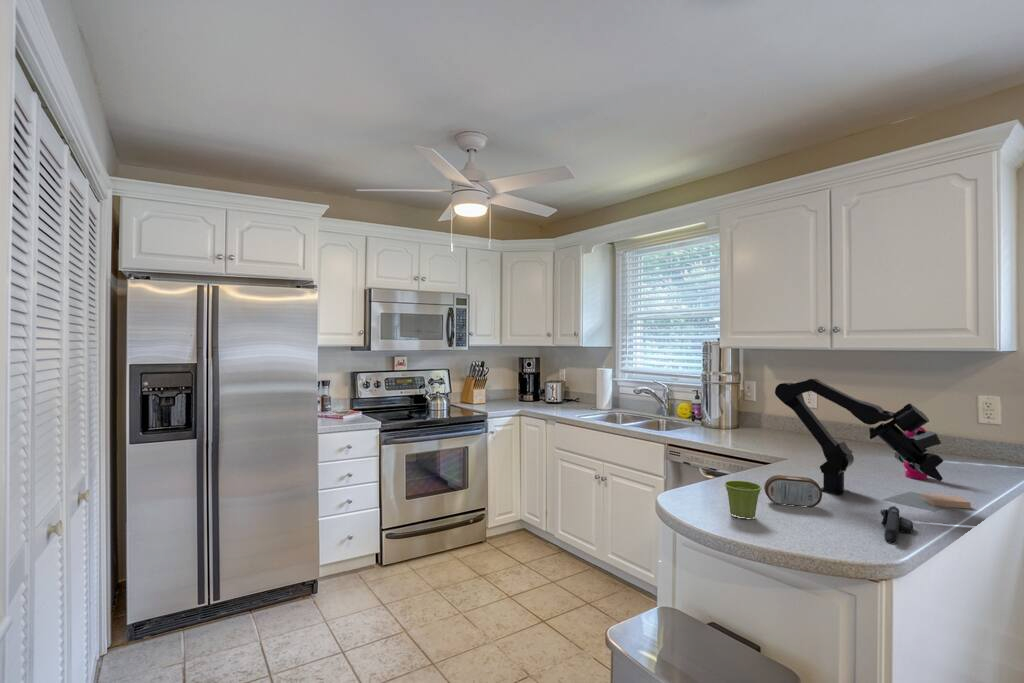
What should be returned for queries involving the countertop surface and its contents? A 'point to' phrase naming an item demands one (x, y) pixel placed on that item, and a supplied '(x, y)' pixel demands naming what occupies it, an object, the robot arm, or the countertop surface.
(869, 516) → the countertop surface
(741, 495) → the plant pot
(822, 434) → the robot arm
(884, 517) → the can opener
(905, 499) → the mat
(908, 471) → the pepper mill
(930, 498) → the tile
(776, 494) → the tin
